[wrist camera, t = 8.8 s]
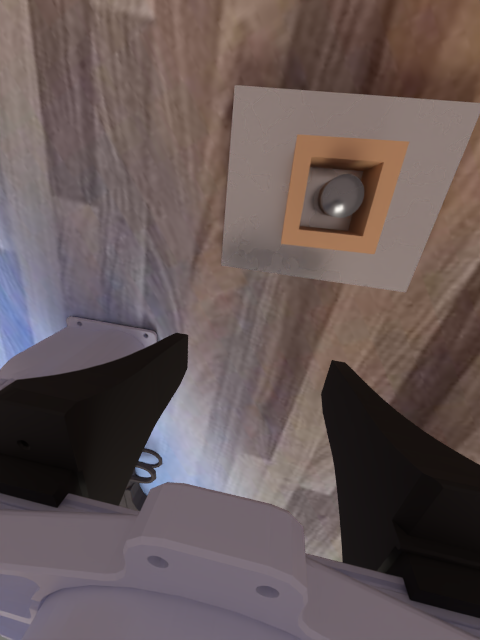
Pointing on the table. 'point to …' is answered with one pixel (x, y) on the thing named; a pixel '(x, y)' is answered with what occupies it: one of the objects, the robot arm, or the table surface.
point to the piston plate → (337, 120)
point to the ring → (378, 180)
